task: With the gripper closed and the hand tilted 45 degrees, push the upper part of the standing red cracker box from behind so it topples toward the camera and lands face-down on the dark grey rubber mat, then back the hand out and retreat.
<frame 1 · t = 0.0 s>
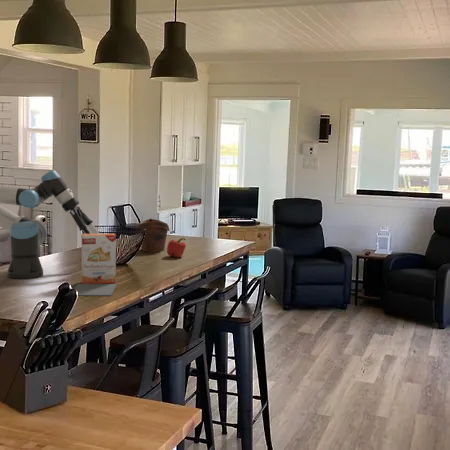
hand: (95, 238, 292), 15 cm above the table, tool tilted 35°, fingers open, 13 cm apart
brown lidded pot: (152, 250, 356), on the table
grey mat: (93, 290, 253), on the table
vegetable: (176, 257, 335), on the table
cracker box: (98, 283, 267), on the table
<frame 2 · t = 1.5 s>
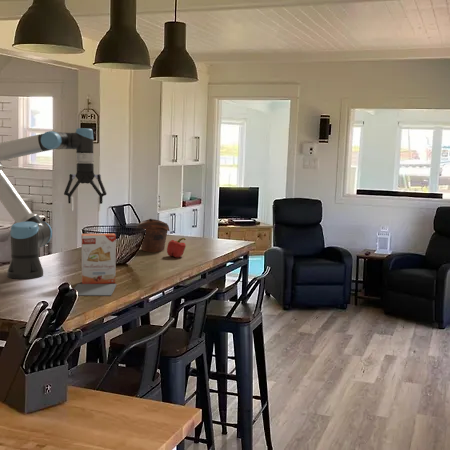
hand: (85, 210, 286), 28 cm above the table, tool pointing down, fingers open, 11 cm apart
nothing on the table moved.
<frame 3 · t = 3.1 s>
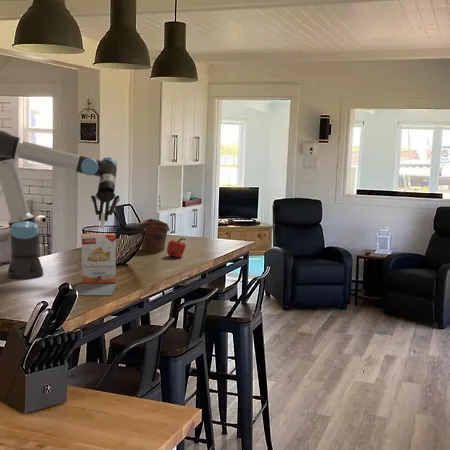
hand: (102, 226, 276), 23 cm above the table, tool tilted 45°, fingers closed
nothing on the table moved.
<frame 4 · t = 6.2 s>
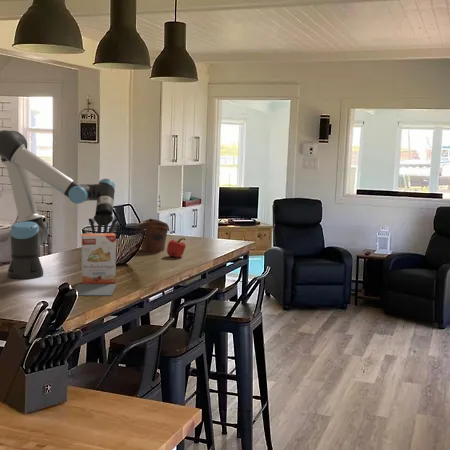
hand: (100, 250, 268), 13 cm above the table, tool tilted 45°, fingers closed
cracker box: (98, 283, 267), on the table, touching gripper
everything else where it was.
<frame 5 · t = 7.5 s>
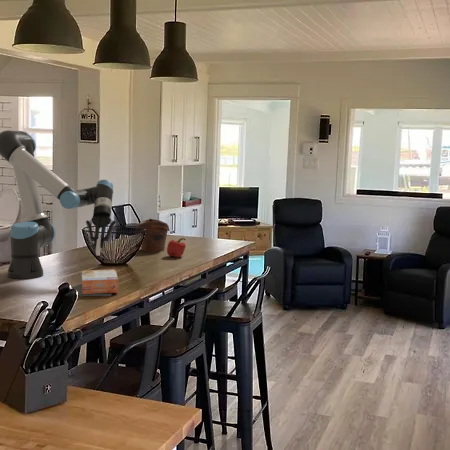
hand: (97, 253, 262), 13 cm above the table, tool tilted 45°, fingers closed
cracker box: (98, 276, 264), point 3 cm above the table, touching grey mat
everything else where it was.
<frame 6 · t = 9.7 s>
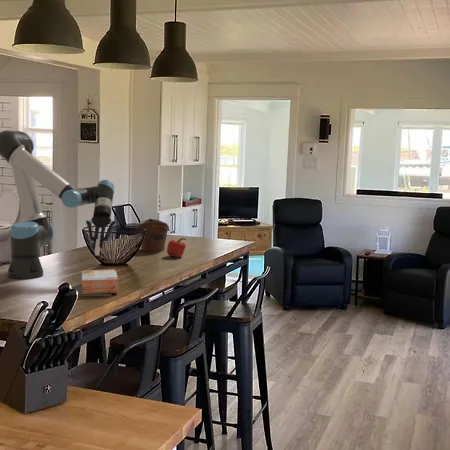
hand: (96, 253, 263), 13 cm above the table, tool tilted 45°, fingers closed
nothing on the table moved.
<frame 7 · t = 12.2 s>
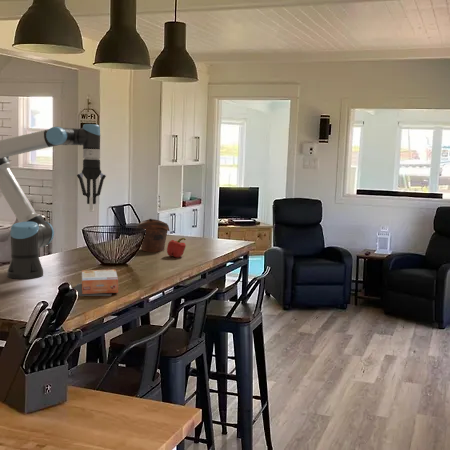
hand: (91, 211, 285), 28 cm above the table, tool pointing down, fingers closed
nothing on the table moved.
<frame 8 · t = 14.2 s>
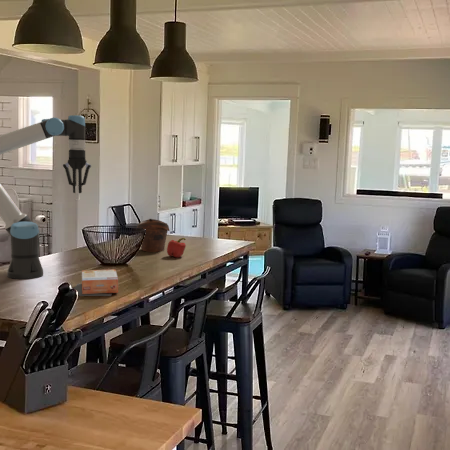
hand: (77, 200, 294), 32 cm above the table, tool pointing down, fingers closed
nothing on the table moved.
at the end: cracker box tilted 89°; cracker box inside the target area (11.6 cm from its centre), point 3.2 cm above the table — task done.
